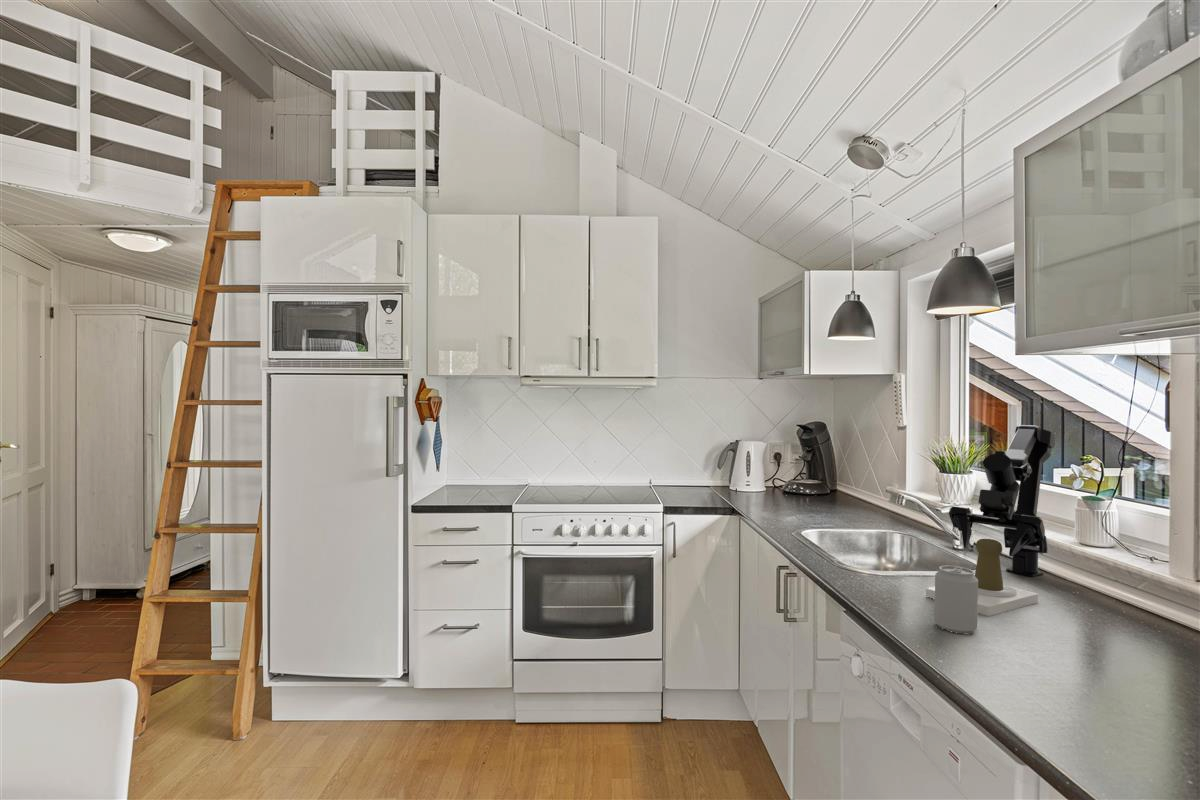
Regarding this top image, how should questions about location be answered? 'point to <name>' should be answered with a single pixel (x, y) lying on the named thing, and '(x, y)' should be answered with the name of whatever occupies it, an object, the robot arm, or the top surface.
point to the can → (956, 599)
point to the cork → (989, 565)
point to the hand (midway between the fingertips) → (987, 551)
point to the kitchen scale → (999, 599)
